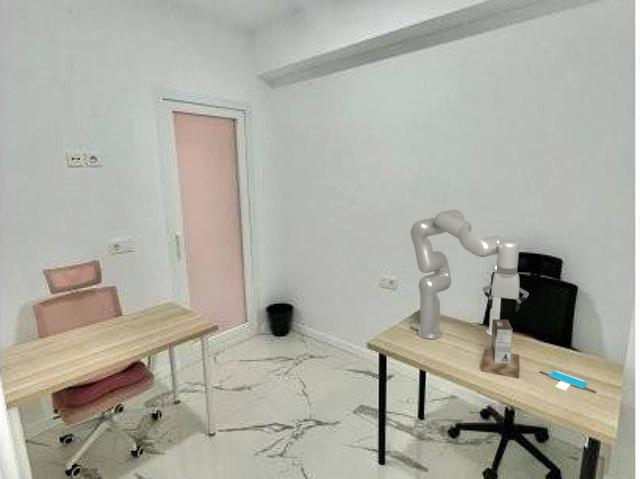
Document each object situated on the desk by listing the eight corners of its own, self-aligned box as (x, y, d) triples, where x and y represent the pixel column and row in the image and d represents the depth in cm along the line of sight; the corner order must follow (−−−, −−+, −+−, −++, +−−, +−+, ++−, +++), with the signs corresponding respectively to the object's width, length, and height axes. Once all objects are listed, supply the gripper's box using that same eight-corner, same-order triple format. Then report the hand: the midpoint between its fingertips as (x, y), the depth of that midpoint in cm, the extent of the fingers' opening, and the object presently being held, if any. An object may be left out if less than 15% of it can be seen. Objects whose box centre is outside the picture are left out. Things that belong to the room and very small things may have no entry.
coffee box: (490, 352, 171) (492, 318, 167) (506, 353, 169) (508, 319, 166) (494, 363, 162) (496, 327, 158) (511, 364, 160) (513, 328, 157)
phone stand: (533, 379, 158) (533, 375, 158) (544, 368, 166) (544, 364, 165) (590, 401, 143) (590, 397, 143) (599, 387, 151) (600, 384, 150)
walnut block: (481, 372, 164) (482, 361, 163) (483, 358, 175) (484, 348, 174) (518, 379, 158) (519, 368, 157) (518, 365, 169) (519, 354, 168)
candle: (484, 333, 197) (486, 287, 191) (489, 328, 202) (491, 283, 196) (498, 337, 192) (501, 290, 187) (503, 332, 197) (506, 286, 192)
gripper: (483, 270, 157) (480, 309, 161) (531, 275, 150) (527, 316, 154) (484, 265, 164) (481, 303, 168) (530, 269, 156) (526, 308, 160)
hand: (503, 309), depth 161 cm, fingers open, 9 cm apart
